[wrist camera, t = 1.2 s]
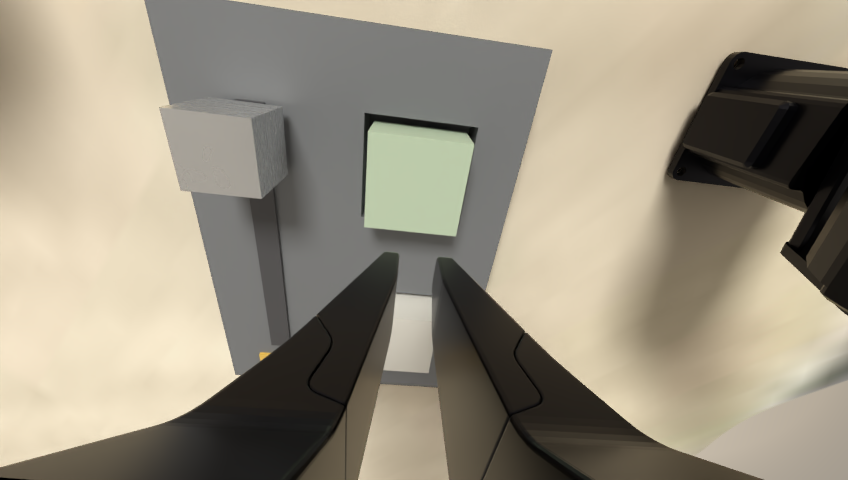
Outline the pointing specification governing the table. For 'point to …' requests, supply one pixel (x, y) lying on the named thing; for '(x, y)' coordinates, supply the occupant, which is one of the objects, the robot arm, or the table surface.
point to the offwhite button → (411, 334)
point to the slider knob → (226, 146)
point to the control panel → (341, 152)
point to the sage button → (416, 178)
